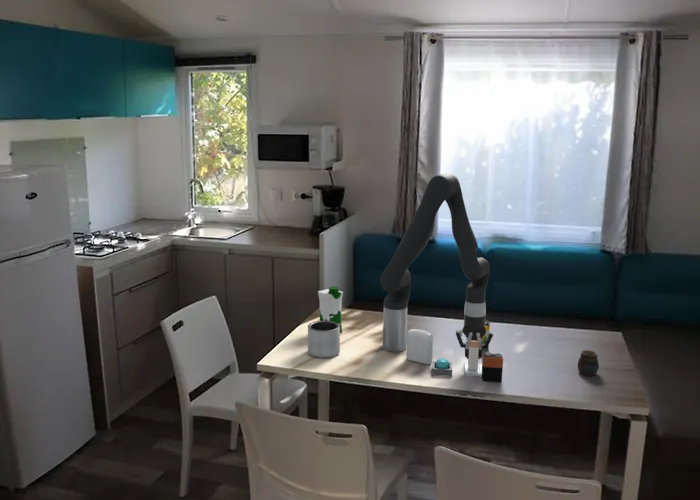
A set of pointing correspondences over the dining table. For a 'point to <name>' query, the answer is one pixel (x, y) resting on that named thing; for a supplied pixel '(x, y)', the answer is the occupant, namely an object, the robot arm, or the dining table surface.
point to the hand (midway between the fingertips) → (473, 358)
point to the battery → (492, 367)
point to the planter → (323, 339)
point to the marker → (473, 355)
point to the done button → (442, 363)
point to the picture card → (473, 372)
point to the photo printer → (419, 346)
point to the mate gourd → (588, 363)
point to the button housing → (442, 370)
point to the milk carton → (331, 305)
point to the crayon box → (485, 334)
